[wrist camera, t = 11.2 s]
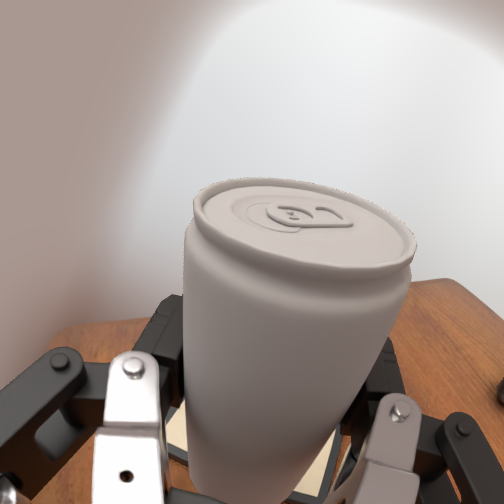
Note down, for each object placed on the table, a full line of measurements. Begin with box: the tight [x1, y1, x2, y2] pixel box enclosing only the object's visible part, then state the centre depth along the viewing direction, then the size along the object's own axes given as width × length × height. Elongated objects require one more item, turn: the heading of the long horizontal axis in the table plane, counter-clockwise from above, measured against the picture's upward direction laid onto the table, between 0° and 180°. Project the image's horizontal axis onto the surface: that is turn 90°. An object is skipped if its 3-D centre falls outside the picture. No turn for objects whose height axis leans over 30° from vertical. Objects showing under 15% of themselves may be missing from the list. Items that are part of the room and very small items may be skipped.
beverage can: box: [183, 178, 417, 504], centre depth 9 cm, size 5×5×12 cm
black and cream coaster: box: [165, 395, 343, 504], centre depth 23 cm, size 13×13×1 cm
